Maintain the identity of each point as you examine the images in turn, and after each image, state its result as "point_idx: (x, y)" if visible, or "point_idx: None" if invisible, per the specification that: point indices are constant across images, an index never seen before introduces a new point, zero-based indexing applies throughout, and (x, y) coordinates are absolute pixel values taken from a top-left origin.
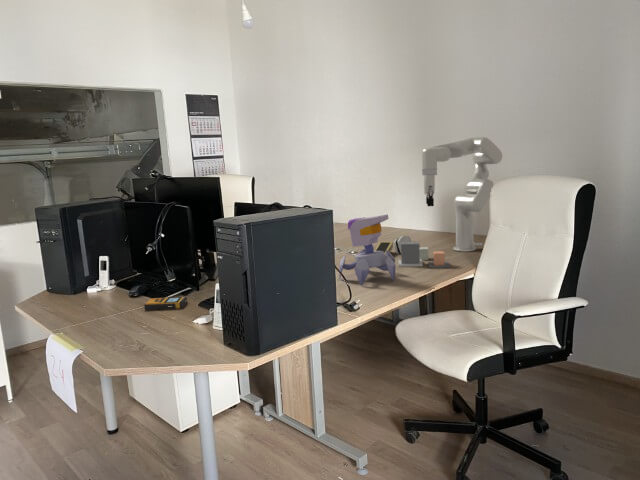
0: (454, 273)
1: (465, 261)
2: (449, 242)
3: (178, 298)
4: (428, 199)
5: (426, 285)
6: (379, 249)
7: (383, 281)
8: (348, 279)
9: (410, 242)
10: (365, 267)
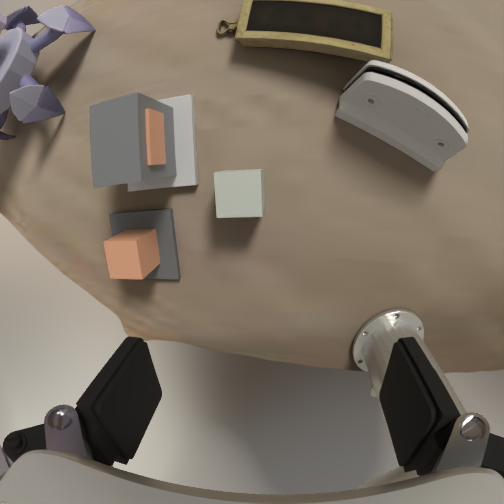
0: (78, 279)
1: (210, 329)
2: (489, 297)
3: None
4: (91, 407)
5: (5, 212)
6: (296, 9)
7: None
8: None
9: (123, 141)
10: None
